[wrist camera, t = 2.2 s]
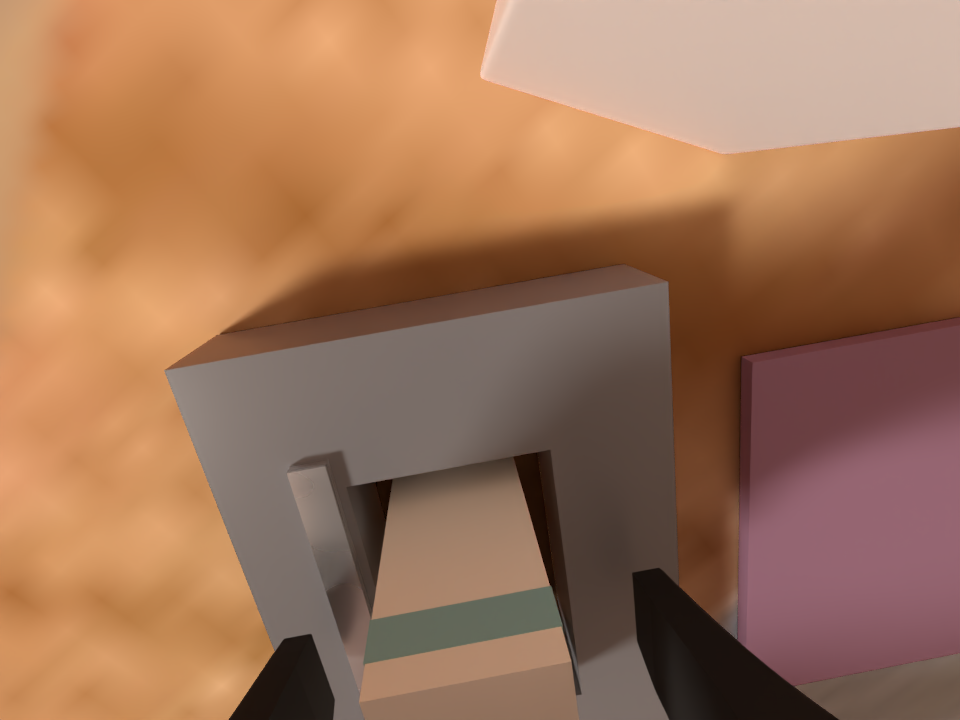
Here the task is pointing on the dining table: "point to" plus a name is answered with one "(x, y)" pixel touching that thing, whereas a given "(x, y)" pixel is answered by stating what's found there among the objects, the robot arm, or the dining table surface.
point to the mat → (851, 503)
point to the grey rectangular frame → (448, 454)
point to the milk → (737, 66)
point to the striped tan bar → (464, 606)
